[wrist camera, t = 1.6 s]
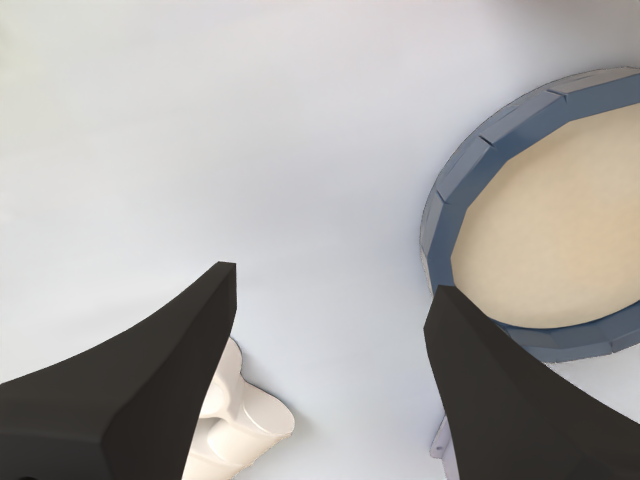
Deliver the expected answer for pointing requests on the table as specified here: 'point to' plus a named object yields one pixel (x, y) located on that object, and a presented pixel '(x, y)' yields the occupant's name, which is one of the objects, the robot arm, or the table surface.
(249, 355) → the table surface
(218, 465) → the white tube cluster
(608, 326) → the plate
